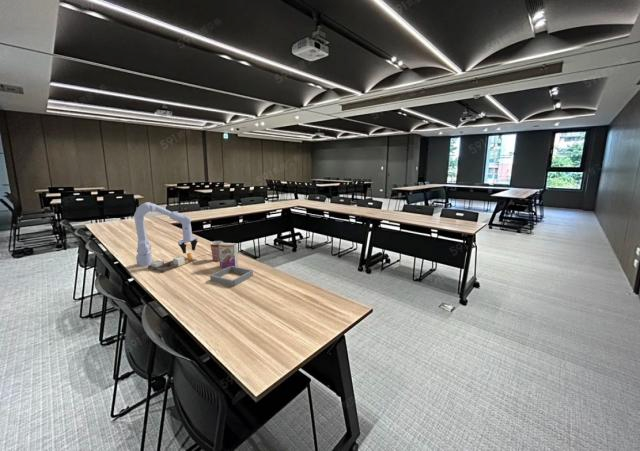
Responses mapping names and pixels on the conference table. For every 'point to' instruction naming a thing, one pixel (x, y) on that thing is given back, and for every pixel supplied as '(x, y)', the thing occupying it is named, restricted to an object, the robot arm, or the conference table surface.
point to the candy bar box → (228, 254)
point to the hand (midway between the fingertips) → (189, 251)
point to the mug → (215, 250)
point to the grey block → (156, 263)
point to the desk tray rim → (218, 279)
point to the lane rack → (168, 266)
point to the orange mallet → (182, 259)
